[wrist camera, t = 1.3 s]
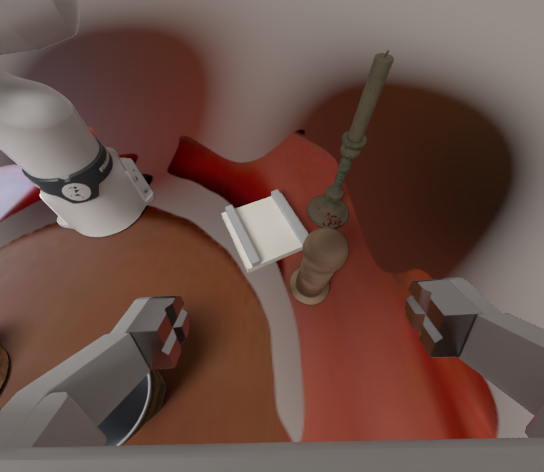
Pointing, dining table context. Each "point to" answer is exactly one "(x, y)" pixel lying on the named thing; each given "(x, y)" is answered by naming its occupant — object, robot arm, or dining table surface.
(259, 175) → the dining table surface
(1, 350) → the skull
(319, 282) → the tan wooden upright piece
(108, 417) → the ceramic cup
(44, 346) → the dining table surface
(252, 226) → the tray
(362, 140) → the candlestick holder
